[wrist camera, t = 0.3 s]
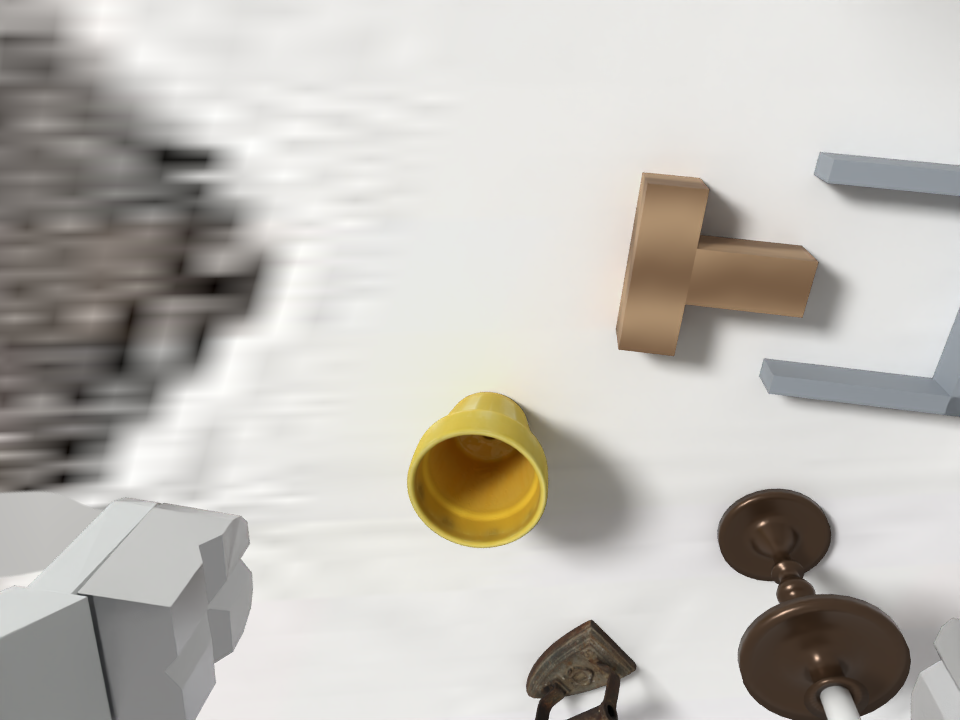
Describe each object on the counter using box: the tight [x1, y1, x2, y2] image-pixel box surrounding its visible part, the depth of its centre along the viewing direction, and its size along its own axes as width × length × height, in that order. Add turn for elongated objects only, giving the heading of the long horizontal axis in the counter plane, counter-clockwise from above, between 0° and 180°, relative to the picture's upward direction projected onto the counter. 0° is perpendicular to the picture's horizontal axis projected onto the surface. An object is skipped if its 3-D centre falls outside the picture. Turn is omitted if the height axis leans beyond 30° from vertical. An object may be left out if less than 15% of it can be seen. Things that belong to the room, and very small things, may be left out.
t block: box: [616, 172, 818, 356], centre depth 51 cm, size 12×12×4 cm
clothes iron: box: [526, 620, 636, 720], centre depth 68 cm, size 7×11×10 cm, turn 132°
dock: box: [759, 152, 960, 417], centre depth 51 cm, size 17×14×3 cm
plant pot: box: [407, 392, 548, 548], centre depth 56 cm, size 10×10×10 cm
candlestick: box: [717, 489, 911, 720], centre depth 46 cm, size 11×11×35 cm
